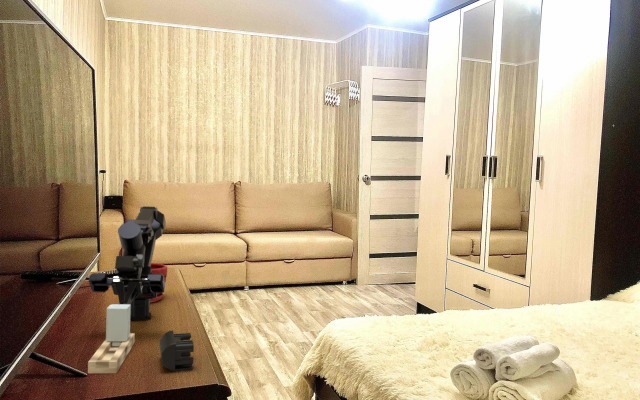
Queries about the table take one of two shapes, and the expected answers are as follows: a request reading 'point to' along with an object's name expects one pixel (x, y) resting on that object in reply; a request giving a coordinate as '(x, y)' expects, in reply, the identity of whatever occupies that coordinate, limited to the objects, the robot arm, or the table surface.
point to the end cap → (177, 351)
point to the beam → (110, 356)
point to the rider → (118, 323)
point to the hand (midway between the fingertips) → (122, 311)
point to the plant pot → (158, 270)
